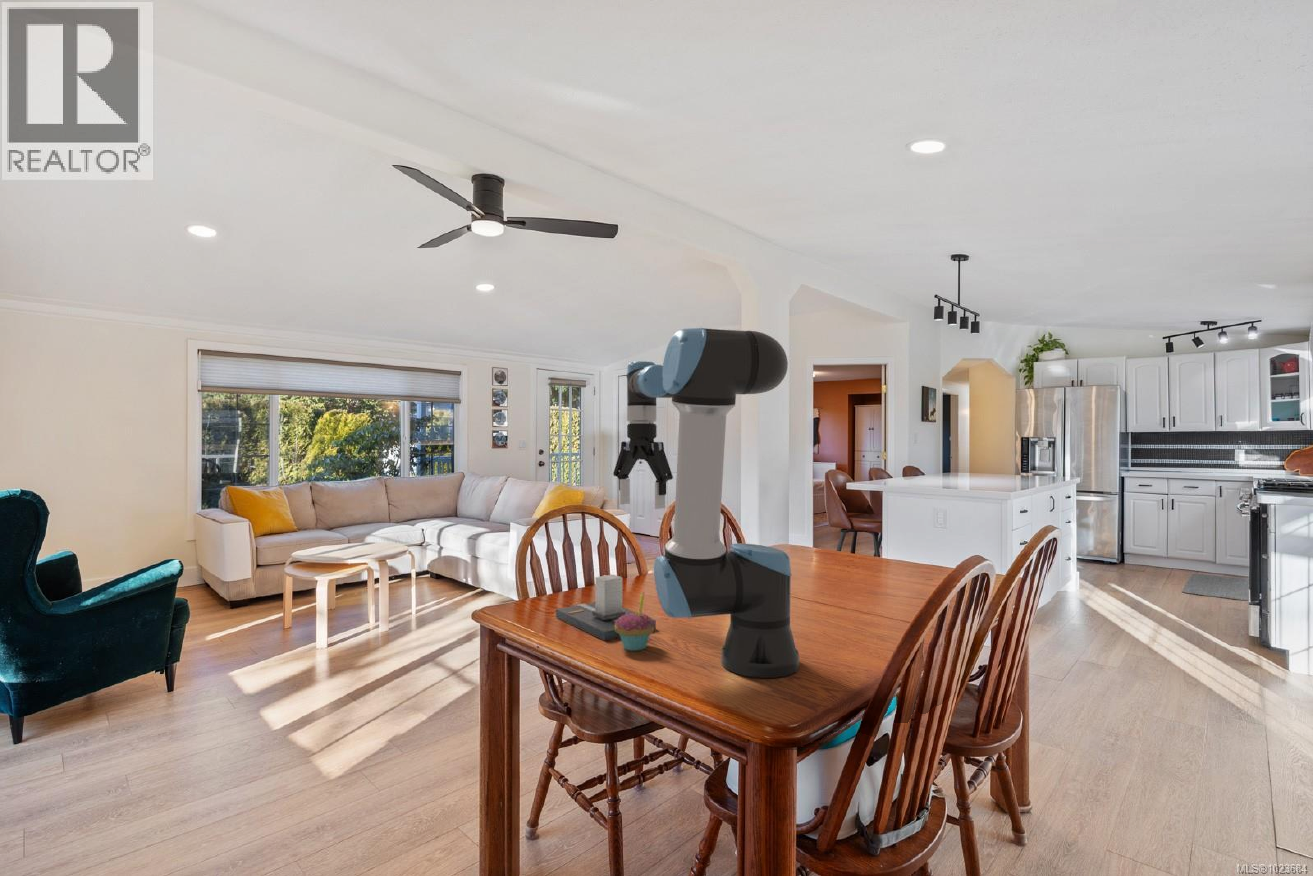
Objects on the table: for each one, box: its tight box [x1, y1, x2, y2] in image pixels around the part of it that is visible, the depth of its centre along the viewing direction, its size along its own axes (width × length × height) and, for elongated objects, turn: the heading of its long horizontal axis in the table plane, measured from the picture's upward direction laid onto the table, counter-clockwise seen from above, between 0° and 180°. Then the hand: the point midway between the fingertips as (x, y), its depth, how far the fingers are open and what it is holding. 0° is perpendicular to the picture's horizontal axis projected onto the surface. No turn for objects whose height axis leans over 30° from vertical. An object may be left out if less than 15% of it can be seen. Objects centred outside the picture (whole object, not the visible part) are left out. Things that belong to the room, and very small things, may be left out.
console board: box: [555, 601, 657, 642], centre depth 152 cm, size 22×14×2 cm, turn 37°
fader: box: [592, 574, 625, 620], centre depth 151 cm, size 5×6×9 cm
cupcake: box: [615, 591, 655, 651], centre depth 135 cm, size 9×8×12 cm
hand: (641, 506), depth 163 cm, fingers open, 13 cm apart
